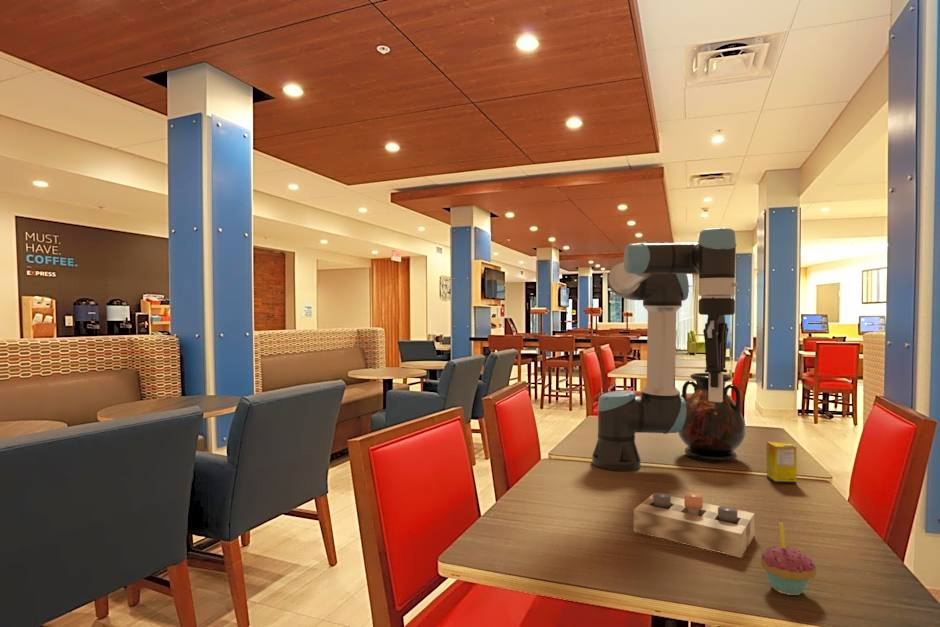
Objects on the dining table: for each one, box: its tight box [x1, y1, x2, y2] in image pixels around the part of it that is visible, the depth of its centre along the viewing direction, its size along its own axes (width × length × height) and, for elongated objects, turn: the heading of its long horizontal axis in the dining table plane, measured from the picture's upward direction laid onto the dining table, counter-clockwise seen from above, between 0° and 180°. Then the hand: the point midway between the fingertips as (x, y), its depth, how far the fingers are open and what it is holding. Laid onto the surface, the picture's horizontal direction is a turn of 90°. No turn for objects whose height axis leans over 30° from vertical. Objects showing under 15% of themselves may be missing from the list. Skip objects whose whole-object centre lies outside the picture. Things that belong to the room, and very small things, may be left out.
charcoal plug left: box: [653, 492, 671, 509], centre depth 125 cm, size 4×4×5 cm
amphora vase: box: [677, 372, 747, 463], centre depth 184 cm, size 22×22×28 cm
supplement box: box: [766, 441, 798, 485], centre depth 158 cm, size 6×6×11 cm
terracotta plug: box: [683, 492, 704, 516], centre depth 121 cm, size 4×4×5 cm
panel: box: [633, 492, 755, 556], centre depth 121 cm, size 22×14×5 cm, turn 53°
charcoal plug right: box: [718, 505, 738, 524], centre depth 116 cm, size 4×4×5 cm
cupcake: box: [760, 517, 817, 594], centre depth 96 cm, size 9×8×12 cm
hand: (715, 401), depth 123 cm, fingers closed
